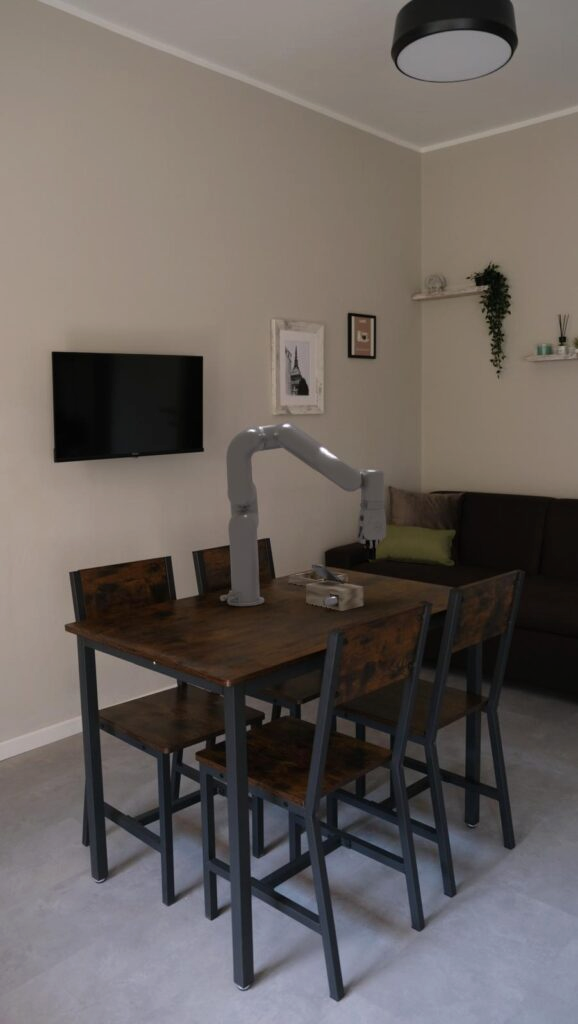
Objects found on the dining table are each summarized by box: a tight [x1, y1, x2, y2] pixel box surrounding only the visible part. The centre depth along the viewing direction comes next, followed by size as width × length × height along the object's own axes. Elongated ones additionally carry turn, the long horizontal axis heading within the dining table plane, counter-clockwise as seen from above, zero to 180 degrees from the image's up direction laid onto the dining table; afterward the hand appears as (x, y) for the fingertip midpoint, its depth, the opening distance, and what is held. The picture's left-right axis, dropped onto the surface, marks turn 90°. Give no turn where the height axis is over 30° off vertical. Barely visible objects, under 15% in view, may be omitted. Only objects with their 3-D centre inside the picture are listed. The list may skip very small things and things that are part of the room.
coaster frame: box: [287, 570, 349, 587], centre depth 316 cm, size 16×15×3 cm
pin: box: [323, 595, 339, 608], centre depth 274 cm, size 15×4×4 cm, turn 132°
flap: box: [311, 564, 342, 583], centre depth 281 cm, size 9×7×1 cm
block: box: [305, 579, 364, 612], centre depth 278 cm, size 10×17×8 cm, turn 42°
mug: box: [309, 563, 324, 580], centre depth 317 cm, size 8×10×10 cm
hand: (370, 559), depth 283 cm, fingers closed
